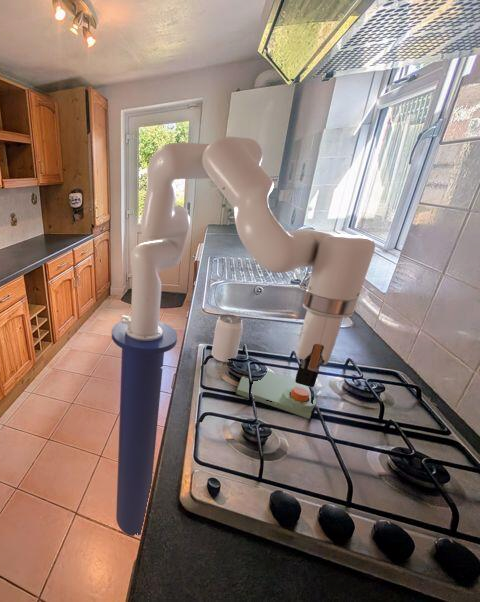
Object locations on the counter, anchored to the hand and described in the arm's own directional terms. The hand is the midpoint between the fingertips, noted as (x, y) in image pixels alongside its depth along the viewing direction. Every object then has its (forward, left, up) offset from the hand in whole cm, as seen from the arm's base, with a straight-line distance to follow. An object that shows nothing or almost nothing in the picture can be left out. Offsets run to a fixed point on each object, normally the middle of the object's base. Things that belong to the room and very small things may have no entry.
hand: (304, 383), depth 63 cm
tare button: (0, 0, -4) cm, 4 cm away
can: (-18, +13, -7) cm, 23 cm away
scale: (-5, +4, -7) cm, 9 cm away
